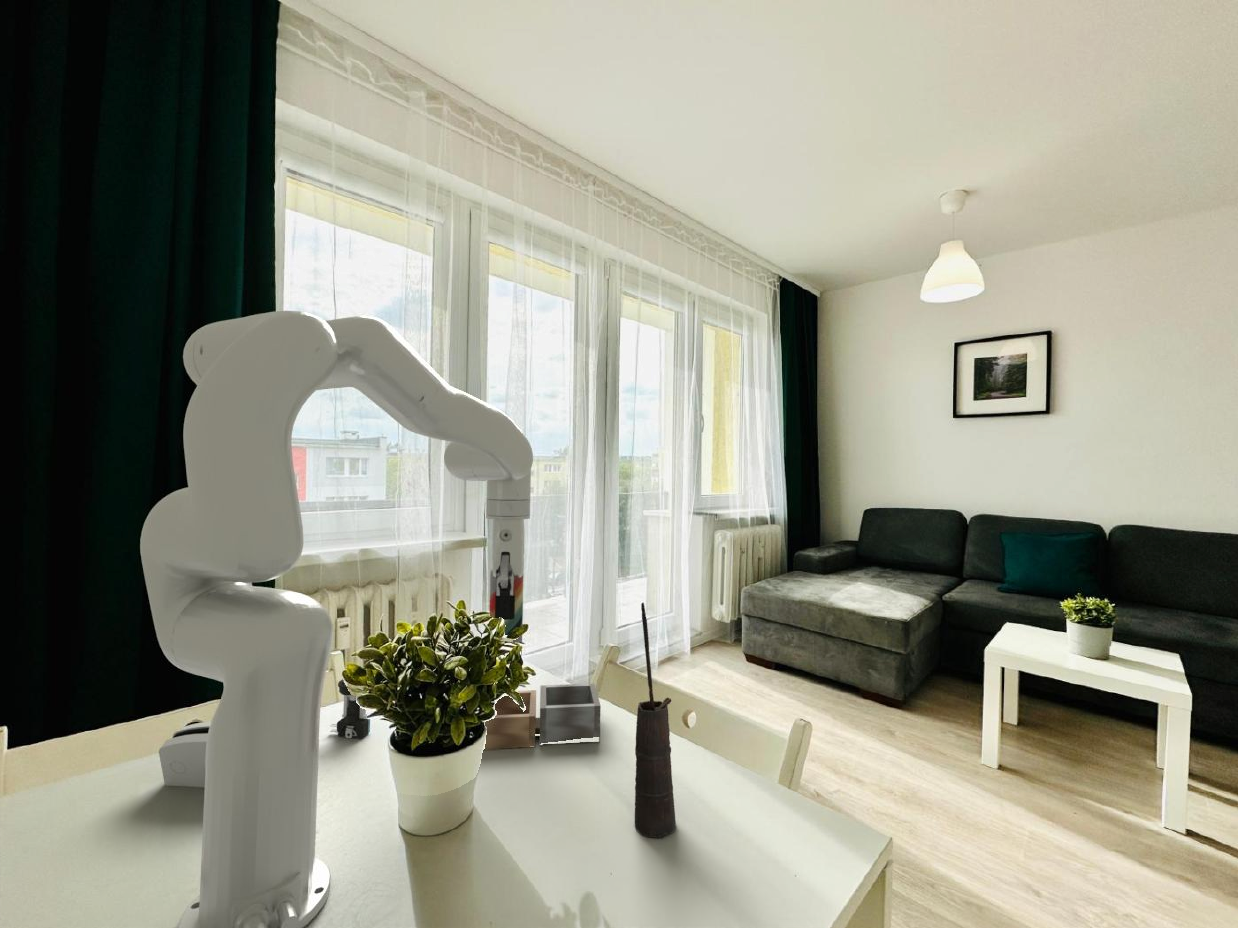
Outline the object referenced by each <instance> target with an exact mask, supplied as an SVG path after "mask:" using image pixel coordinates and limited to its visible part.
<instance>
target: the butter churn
mask: <svg viewBox="0 0 1238 928" xmlns="http://www.w3.org/2000/svg"><path fill="white" fill-rule="evenodd" d="M640 607H641V610H640V611H641V620H642V628H643V641H644V643H643V644H644V651H645V652H644V653H645V661H646V663H645V664H646V674H647V676H646V677H647V686H648V695H649V700H647V701H640V702H639V703H638V705H637V714H636V729H635V732H636V733H635V749H634V750H635V753H634V755H635V758H636V760H635V780H634V781H635V786H634V791H635V793H634V795H635V796H634V827H635V830H636V831H637V832H639V833H640V834H641V835H642V836H645V837H647V838H664V837H665V836H666V834H672V833H674V831H675V830H676V829H677V821H676V810H675V809H676V808H675V799H674V785H673V775H672V774H673V773H672V757H671V754H672V747H671V741H670V735H671V734H670V723H669V708H668V705H670V704H671V702H672V699H671V698H669V697H665V698H664V700H662V701H661V700H654V699H655V698H654V692H653V678H652V667H651V665H652V664H651V655H650V644H649V643H650V642H649V629H648V620H647V616H646V615H647V613H646V608H645V603H644V602H642V603H641V605H640Z"/></svg>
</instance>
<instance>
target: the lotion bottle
mask: <svg viewBox="0 0 1238 928" xmlns="http://www.w3.org/2000/svg"><path fill="white" fill-rule="evenodd" d="M509 563H510V559H509ZM496 573H498V570H496ZM489 575H490V576H489V605H488V606H489V609H488V610H489V611H488V612H489V614H490V616H491V617H493V618H495V595H496V593H497V578H495V577H494V576H493V568H491V569H490V572H489ZM496 576H497V575H496ZM508 576H512V573H508ZM510 582H511V581H510ZM513 595H515V617H514V619H511V620H505V625H506V627H505V635H508V634H509V633H510V632H511V631H512V630H513V629H514V628H516V627H520V626H522V627H523V626H524V625H523V623H524V622H523V620H524V619H523V618H524V617H523V616H524V614H523V613H524V606H523V605H524V575H523V576H522V577H520V578H518V575H514V593H513ZM489 614H488V615H489ZM515 642H522V643H523V634H522V635H521V636H520V637H519V638H518V639H516V640H513V643H515ZM522 654H523V649H522V650H521V656H522Z"/></svg>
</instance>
